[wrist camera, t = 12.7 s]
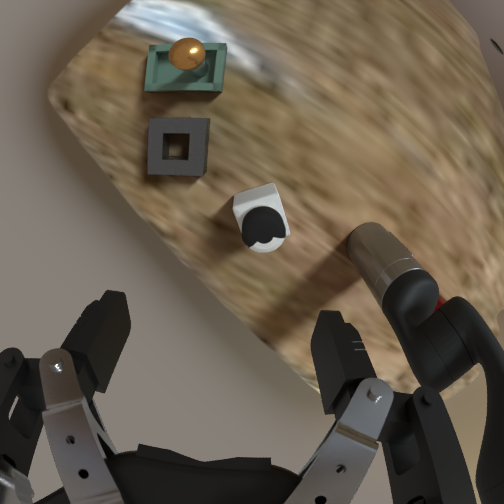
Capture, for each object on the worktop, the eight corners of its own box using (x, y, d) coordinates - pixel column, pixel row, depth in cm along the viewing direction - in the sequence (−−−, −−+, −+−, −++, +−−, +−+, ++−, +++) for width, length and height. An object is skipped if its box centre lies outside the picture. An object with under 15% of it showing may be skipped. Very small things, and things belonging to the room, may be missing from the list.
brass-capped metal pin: (214, 56, 35) (206, 37, 25) (211, 81, 37) (202, 69, 27) (187, 56, 35) (170, 38, 25) (184, 81, 37) (166, 69, 27)
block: (210, 118, 40) (207, 118, 37) (206, 171, 45) (203, 176, 41) (156, 117, 40) (149, 118, 36) (155, 169, 44) (147, 174, 40)
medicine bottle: (233, 194, 47) (229, 219, 36) (273, 181, 46) (282, 203, 35) (246, 230, 50) (247, 264, 39) (285, 218, 49) (296, 250, 38)
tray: (227, 47, 35) (226, 43, 32) (222, 92, 38) (220, 90, 36) (155, 49, 34) (149, 45, 31) (150, 92, 38) (144, 91, 35)
